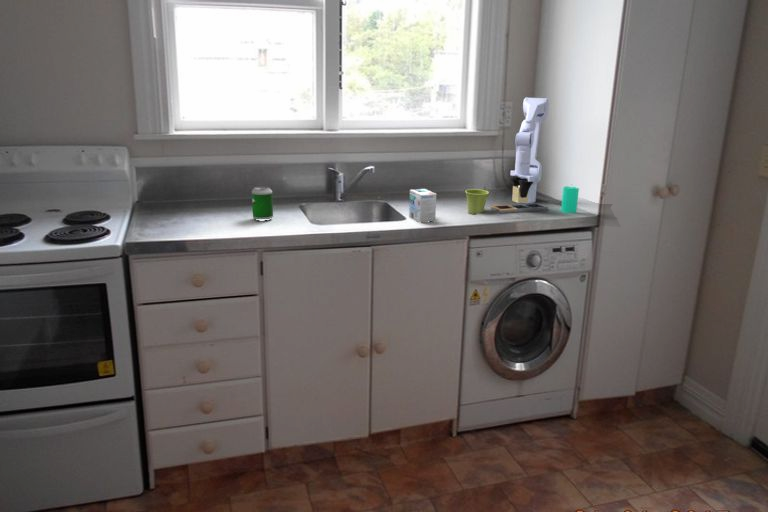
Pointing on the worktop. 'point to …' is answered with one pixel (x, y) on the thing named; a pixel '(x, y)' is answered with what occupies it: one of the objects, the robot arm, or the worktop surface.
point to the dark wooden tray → (518, 208)
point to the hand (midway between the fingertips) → (520, 196)
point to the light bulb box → (422, 205)
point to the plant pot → (476, 200)
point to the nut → (518, 195)
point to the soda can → (262, 203)
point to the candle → (569, 199)
